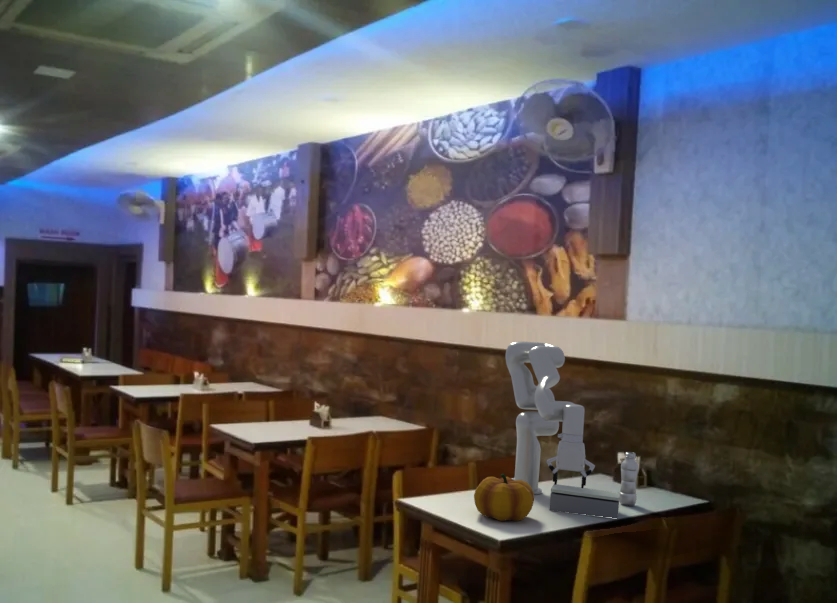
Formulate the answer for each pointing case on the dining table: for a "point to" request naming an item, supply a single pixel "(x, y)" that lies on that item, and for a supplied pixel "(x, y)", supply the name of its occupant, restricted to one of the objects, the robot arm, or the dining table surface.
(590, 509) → the grey rectangular box
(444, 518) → the dining table surface
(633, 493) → the plastic bottle
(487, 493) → the decorative pumpkin
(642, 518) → the dining table surface
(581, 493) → the cover
